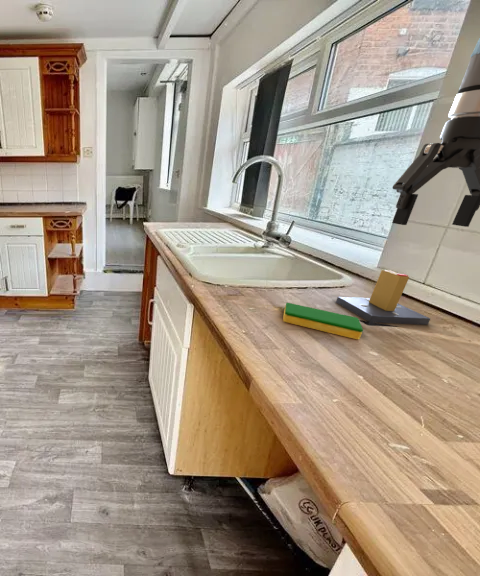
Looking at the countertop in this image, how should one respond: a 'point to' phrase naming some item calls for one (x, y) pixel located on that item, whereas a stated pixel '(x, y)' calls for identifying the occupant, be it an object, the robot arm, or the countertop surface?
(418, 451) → the countertop surface
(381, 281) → the lock knob
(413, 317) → the plate
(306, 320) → the dish sponge
